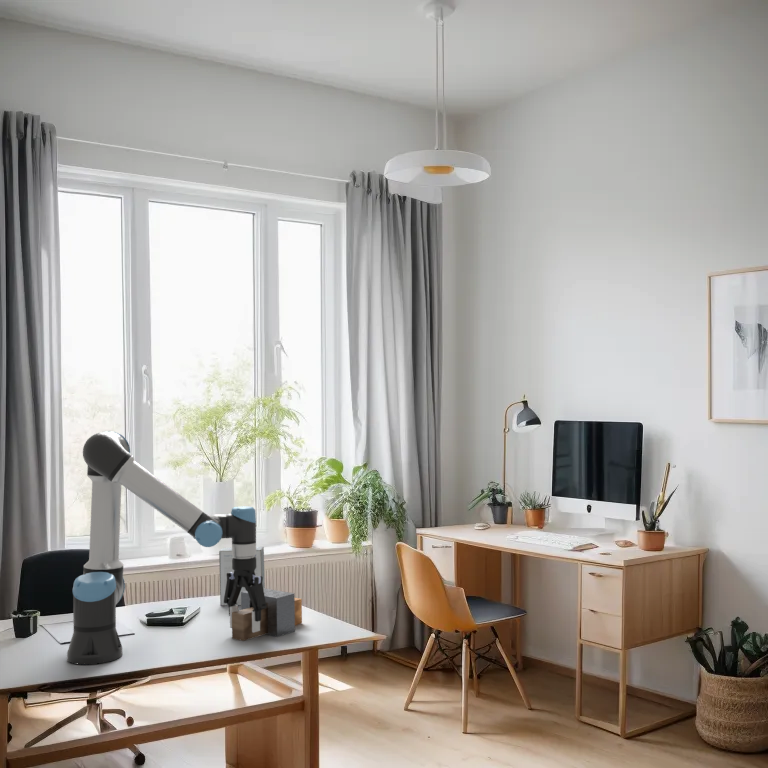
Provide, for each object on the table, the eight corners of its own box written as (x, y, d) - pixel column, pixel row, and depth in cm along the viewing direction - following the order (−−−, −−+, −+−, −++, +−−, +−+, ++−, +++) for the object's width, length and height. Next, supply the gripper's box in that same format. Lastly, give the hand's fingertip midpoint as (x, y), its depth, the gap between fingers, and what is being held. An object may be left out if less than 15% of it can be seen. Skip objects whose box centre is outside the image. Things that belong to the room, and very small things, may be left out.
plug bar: (243, 640, 267) (243, 614, 267) (231, 638, 270) (231, 612, 270) (301, 623, 287) (301, 598, 287) (289, 620, 291) (289, 596, 291)
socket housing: (277, 636, 271) (276, 598, 271) (241, 629, 280) (241, 591, 281) (294, 631, 277) (294, 593, 277) (259, 624, 287) (258, 587, 287)
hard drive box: (265, 600, 321) (265, 546, 322) (262, 605, 313) (261, 550, 314) (223, 601, 321) (223, 547, 322) (219, 605, 314) (218, 550, 314)
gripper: (277, 558, 268) (278, 631, 267) (229, 551, 281) (229, 621, 280) (260, 561, 262) (261, 637, 261) (211, 555, 275) (212, 626, 274)
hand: (245, 629), depth 271 cm, fingers open, 9 cm apart
